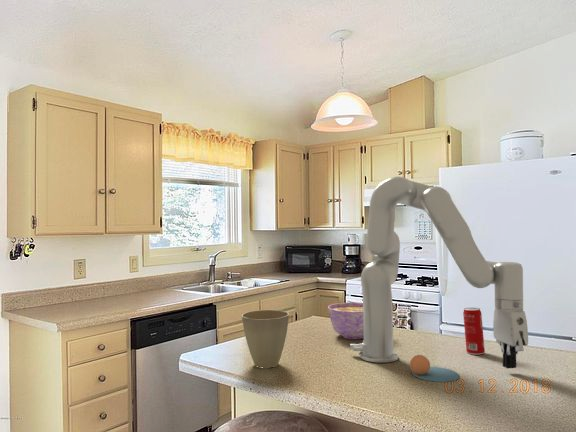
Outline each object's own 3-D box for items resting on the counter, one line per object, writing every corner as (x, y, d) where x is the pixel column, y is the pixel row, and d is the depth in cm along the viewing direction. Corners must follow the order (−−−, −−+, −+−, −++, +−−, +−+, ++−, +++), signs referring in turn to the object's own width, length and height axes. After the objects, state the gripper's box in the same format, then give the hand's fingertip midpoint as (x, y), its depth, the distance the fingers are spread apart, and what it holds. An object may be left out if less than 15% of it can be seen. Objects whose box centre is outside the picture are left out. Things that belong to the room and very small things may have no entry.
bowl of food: (323, 331, 186) (323, 303, 186) (371, 329, 188) (370, 301, 188) (333, 344, 166) (333, 312, 166) (386, 342, 168) (386, 311, 169)
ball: (422, 351, 130) (437, 363, 130) (412, 350, 135) (426, 362, 136) (412, 367, 128) (427, 379, 128) (403, 366, 133) (417, 378, 134)
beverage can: (486, 355, 150) (485, 310, 150) (465, 355, 151) (464, 309, 151) (482, 351, 156) (481, 307, 156) (462, 350, 157) (461, 306, 157)
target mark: (414, 380, 127) (414, 380, 127) (410, 366, 140) (410, 365, 140) (463, 383, 124) (463, 382, 124) (454, 368, 137) (454, 367, 137)
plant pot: (262, 355, 153) (261, 308, 153) (298, 362, 144) (298, 312, 145) (232, 367, 141) (231, 315, 141) (270, 375, 132) (269, 321, 132)
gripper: (538, 308, 126) (539, 375, 126) (504, 299, 141) (504, 359, 141) (514, 309, 125) (515, 376, 125) (482, 300, 140) (482, 360, 139)
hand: (509, 367), depth 133 cm, fingers closed
